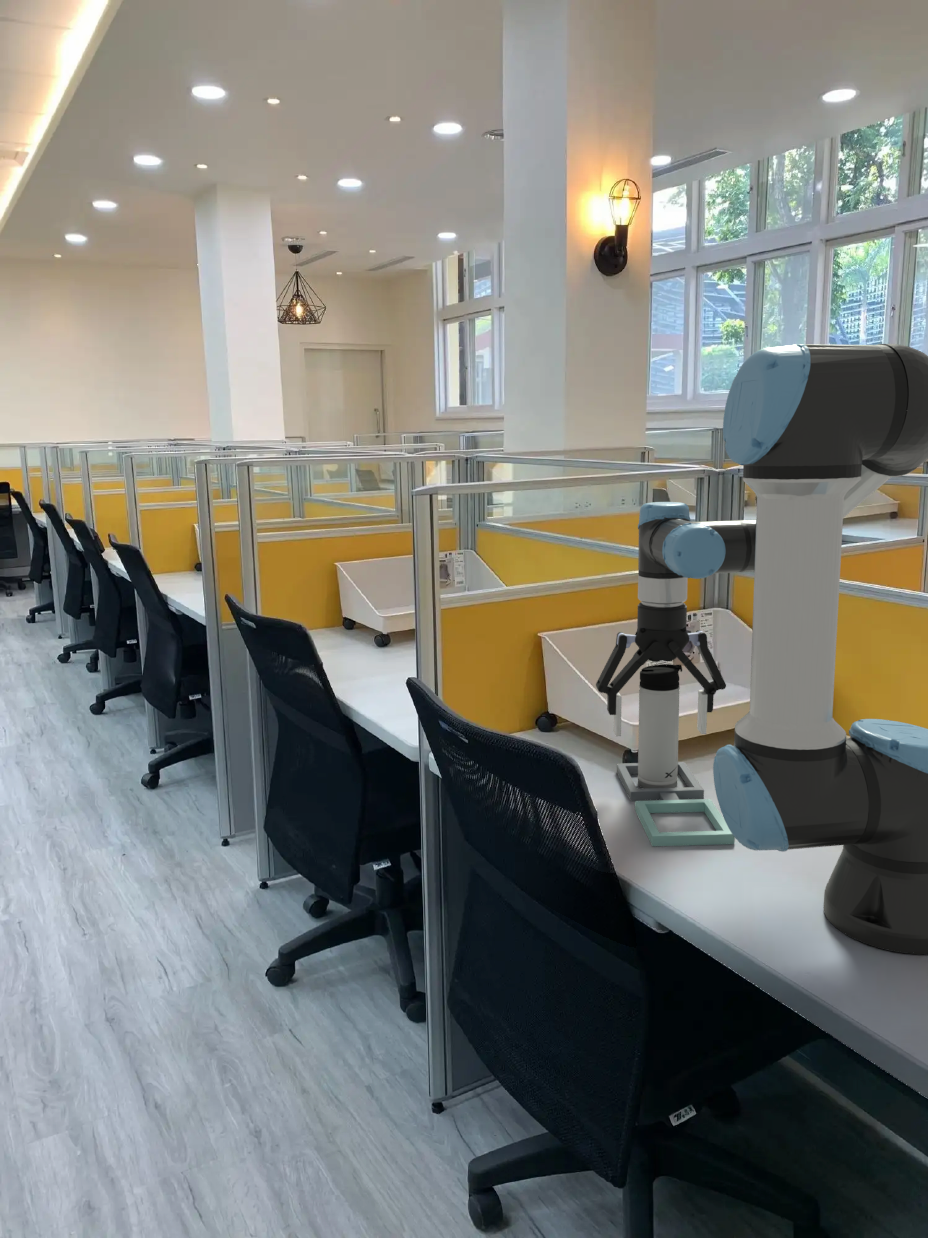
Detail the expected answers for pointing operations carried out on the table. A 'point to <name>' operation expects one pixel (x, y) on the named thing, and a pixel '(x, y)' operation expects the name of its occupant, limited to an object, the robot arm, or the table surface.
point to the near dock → (683, 838)
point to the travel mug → (658, 726)
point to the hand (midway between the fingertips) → (659, 732)
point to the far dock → (647, 794)
